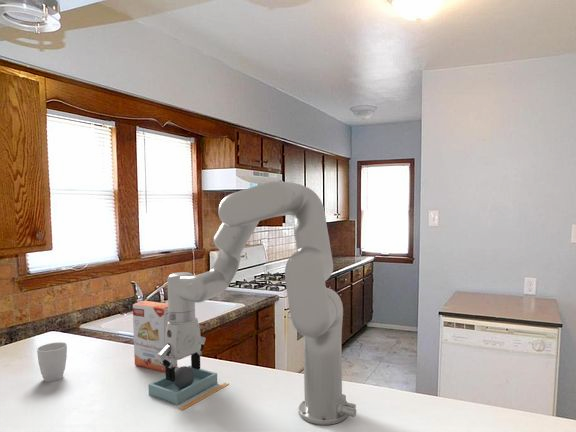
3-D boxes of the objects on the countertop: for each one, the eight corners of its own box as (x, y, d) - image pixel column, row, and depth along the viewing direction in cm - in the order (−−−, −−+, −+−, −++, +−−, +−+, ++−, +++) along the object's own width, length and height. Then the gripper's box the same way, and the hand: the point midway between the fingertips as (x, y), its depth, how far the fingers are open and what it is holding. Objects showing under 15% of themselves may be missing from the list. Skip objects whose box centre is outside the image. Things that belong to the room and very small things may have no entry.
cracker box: (133, 366, 139) (131, 303, 138) (147, 359, 144) (145, 299, 144) (164, 373, 133) (162, 308, 132) (178, 366, 138) (176, 303, 137)
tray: (228, 384, 124) (228, 374, 123) (182, 410, 109) (182, 399, 108) (192, 373, 132) (192, 364, 132) (145, 396, 117) (144, 385, 117)
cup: (73, 373, 134) (72, 342, 134) (57, 384, 126) (55, 351, 126) (49, 372, 135) (48, 342, 134) (32, 383, 127) (30, 351, 126)
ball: (199, 385, 122) (198, 365, 122) (183, 393, 117) (182, 372, 117) (184, 381, 125) (184, 361, 125) (168, 389, 120) (168, 368, 120)
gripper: (167, 325, 111) (168, 388, 112) (212, 310, 126) (213, 366, 126) (148, 321, 115) (150, 382, 116) (194, 307, 130) (196, 361, 130)
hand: (183, 374), depth 121 cm, fingers open, 9 cm apart
